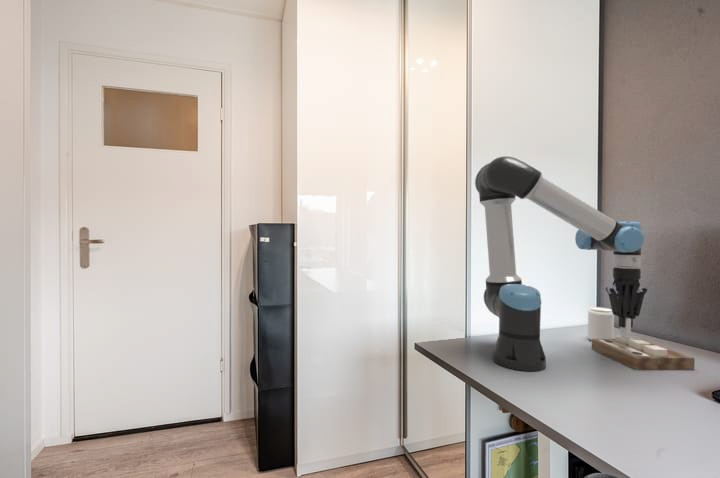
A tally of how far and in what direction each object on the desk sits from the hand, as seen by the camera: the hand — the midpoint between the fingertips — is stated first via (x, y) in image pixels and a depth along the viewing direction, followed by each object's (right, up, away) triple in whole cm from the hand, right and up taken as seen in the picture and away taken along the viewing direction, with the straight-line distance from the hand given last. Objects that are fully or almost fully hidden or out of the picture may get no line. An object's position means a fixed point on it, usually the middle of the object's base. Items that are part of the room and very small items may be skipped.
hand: (625, 336), depth 122 cm
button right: (0, -3, -12) cm, 12 cm away
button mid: (0, -3, -6) cm, 7 cm away
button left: (0, -4, 0) cm, 4 cm away
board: (0, -5, -6) cm, 8 cm away
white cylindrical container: (0, -5, +13) cm, 14 cm away
